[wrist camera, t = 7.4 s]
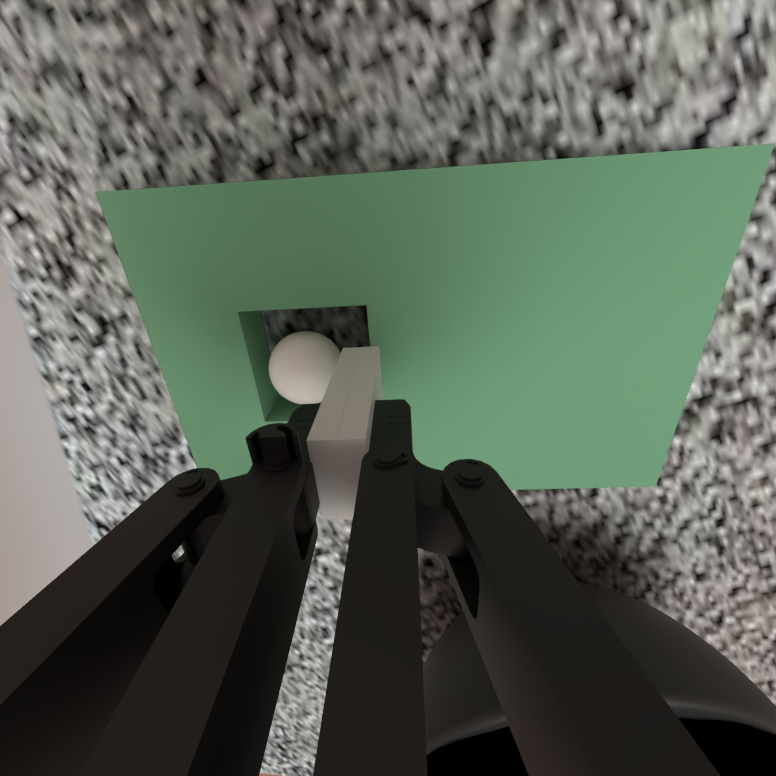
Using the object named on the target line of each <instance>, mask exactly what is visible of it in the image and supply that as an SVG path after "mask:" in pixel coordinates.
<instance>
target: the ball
mask: <svg viewBox="0 0 776 776" xmlns="http://www.w3.org/2000/svg"><path fill="white" fill-rule="evenodd" d="M340 354H341V353H340V351H339V349H338V348H337V346H336V345H335V344H334V343H333V342H332V341H331V340H330V339H329V338H327V337H326V336H324V335H322V334H320V333H316V332H312V331H300V332H295V333H292V334H290V335H288V336H286V337H285V338H283V339H282V340H281V341H280V342H279V343H278V344H277V345H276V346H275V348H274V349H273V351H272V353H271V356H270V359H269V376H270V379H271V382H272V384H273V386H274V387H275V389H276V390H277V391H278V392H279V393H280V394H281V395H282V396H283V397H284V398H286V399H287V400H289V401H291V402H294V403H297V404H315V403H320V402H322V400H323V397H324V395H325V392H326V390H327V387H328V384H329V382H330V379H331V377H332V374H333V372H334V369H335V367H336V364H337V362H338V359H339V356H340Z"/></svg>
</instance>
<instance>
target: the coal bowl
mask: <svg viewBox="0 0 776 776" xmlns="http://www.w3.org/2000/svg"><path fill="white" fill-rule="evenodd" d="M578 583H579V584H580V585H581V587H582V588H583V589H584V591H585V592H586V594H587V595H588V596H589V598H590V599H591V600H592V602H593V603H594V604H595V606H596V607H597V608H598V610H599V611H600V613H601V614H602V615H603V617H604V618H605V619H606V621H607V622H608V623H609V625H610V626H611V627H612V629H613V630H614V632H615V633H616V634H617V636H618V637H619V638H620V640H621V641H622V642H623V644H624V645H625V647H626V648H627V649H628V651H629V652H630V653H631V655H632V656H633V657H634V659H635V660H636V661H637V663H638V664H639V666H640V667H641V668H642V670H643V671H644V672H645V674H646V675H647V676H648V678H649V679H650V680H651V682H652V683H653V685H654V686H655V687H656V689H657V690H658V691H659V693H660V694H661V695H662V697H663V698H664V700H665V701H666V702H667V704H668V705H669V706H670V708H671V709H672V710H673V712H674V713H675V714H676V716H677V717H678V719H679V720H680V721H681V723H682V724H683V725H684V727H685V728H686V729H687V731H688V732H689V733H690V735H691V736H692V738H693V739H694V740H695V742H696V743H697V744H698V746H699V747H700V748H701V750H702V751H703V753H704V754H705V755H706V757H707V758H708V759H709V761H710V762H711V763H712V765H713V766H714V767H715V769H716V770H717V772H718V773H719V774H720V776H776V706H775V705H774V704H773V703H772V702H771V701H770V699H769V698H768V697H767V696H766V695H765V694H764V693H763V692H762V691H761V690H760V689H759V688H758V687H757V686H756V685H755V684H754V683H753V682H752V681H751V680H750V679H749V678H748V677H747V676H746V675H745V674H743V673H742V672H741V671H740V670H739V669H738V668H737V667H736V666H735V665H734V664H733V663H732V662H730V661H729V660H728V659H727V658H726V657H725V656H723V655H722V654H721V653H720V652H719V651H717V650H716V649H715V648H714V647H713V646H711V645H710V644H708V643H707V642H706V641H704V640H703V639H702V638H700V637H699V636H698V635H696V634H695V633H693V632H692V631H691V630H689V629H688V628H687V627H685V626H684V625H682V624H681V623H679V622H677V621H676V620H674V619H672V618H671V617H669V616H668V615H666V614H664V613H662V612H661V611H659V610H657V609H655V608H653V607H651V606H649V605H647V604H645V603H643V602H641V601H639V600H637V599H634V598H632V597H630V596H627V595H624V594H622V593H619V592H617V591H614V590H611V589H608V588H604V587H600V586H596V585H592V584H588V583H583V582H578ZM423 685H424V707H425V730H426V752H427V775H428V776H529V774H528V772H527V769H526V767H525V764H524V762H523V759H522V757H521V754H520V752H519V749H518V747H517V744H516V742H515V739H514V737H513V734H512V732H511V729H510V727H509V724H508V722H507V719H506V717H505V714H504V712H503V709H502V707H501V704H500V702H499V699H498V697H497V694H496V692H495V689H494V687H493V684H492V682H491V679H490V677H489V674H488V672H487V669H486V667H485V664H484V662H483V659H482V657H481V654H480V652H479V649H478V647H477V644H476V642H475V639H474V637H473V634H472V632H471V629H470V627H469V624H468V621H467V619H466V616H465V614H464V612H463V613H462V614H461V615H460V616H459V617H458V618H456V619H455V620H454V622H453V623H452V624H451V625H450V626H449V627H448V629H447V630H446V631H445V632H444V633H443V634H442V636H441V637H440V639H439V640H438V642H437V643H436V645H435V647H434V648H433V650H432V651H431V653H430V655H429V657H428V659H427V661H426V663H425V665H424V667H423Z"/></svg>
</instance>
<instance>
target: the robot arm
mask: <svg viewBox="0 0 776 776" xmlns="http://www.w3.org/2000/svg"><path fill="white" fill-rule="evenodd" d="M288 421H289V422H287V423H274V424H268V425H265V426H262V427H259V428H257V429H256V430H254V431H252V432H251V433H250V434H249V435H248V436H247V437H246V438H245V439H246V442H247V446H248V450H249V453H250V457H251V460H252V464H253V465H252V466H251V468H250V470H249V472H248V473H246V474H243V475H240V476H236V477H232V478H228V479H223V480H220V477H219V475H218V473H217V472H216V471H215V470H213V469H210V468H196V469H191V470H188V471H186V472H183V473H181V474H179V475H177V476H175V477H174V478H173V479H171V480H170V481H168V482H167V483H166V484H165V485H164V486H162V487H161V488H160V489H159V490H158V491H157V492H155V493H154V494H153V495H152V496H151V497H150V498H148V499H147V500H146V501H145V502H144V503H143V504H142V505H140V506H139V507H138V508H137V509H136V510H135V511H133V512H132V513H131V514H130V515H129V516H128V517H126V518H125V519H124V520H123V521H122V522H121V523H119V524H118V525H117V526H116V527H115V528H114V529H112V530H111V531H110V532H109V533H108V534H107V535H106V536H104V537H103V538H102V539H101V540H100V541H99V542H97V543H96V544H95V545H94V546H93V547H92V548H90V549H89V550H88V551H87V552H86V553H85V554H84V555H82V556H81V557H80V558H79V559H78V560H76V561H75V562H74V563H73V564H72V565H71V566H70V567H68V568H67V569H66V570H65V571H64V572H63V573H61V574H60V575H59V576H58V577H57V578H56V579H54V580H53V581H52V582H51V583H50V584H49V585H47V586H46V587H45V588H44V589H43V590H42V591H41V592H39V593H38V594H37V595H36V596H35V597H34V598H32V599H31V600H30V601H29V602H28V603H27V604H25V605H24V606H23V607H22V608H21V609H20V610H18V611H17V612H16V613H15V614H14V615H13V616H12V617H10V618H9V619H8V620H7V621H6V622H5V623H3V624H2V625H1V626H0V776H259V773H260V769H261V764H262V760H263V756H264V752H265V748H266V744H267V740H268V736H269V732H270V728H271V724H272V720H273V715H274V711H275V707H276V703H277V699H278V695H279V691H280V687H281V683H282V679H283V675H284V671H285V666H286V662H287V658H288V654H289V650H290V646H291V642H292V638H293V634H294V630H295V626H296V622H297V617H298V613H299V609H300V605H301V601H302V597H303V593H304V589H305V585H306V581H307V577H308V573H309V568H310V564H311V560H312V556H313V552H314V548H315V544H316V540H317V536H318V528H317V523H316V516H317V512H318V508H319V509H320V514H321V519H322V520H338V519H353V521H352V527H351V534H350V540H349V547H348V553H347V560H346V566H345V573H344V579H343V586H342V592H341V599H340V605H339V612H338V618H337V625H336V631H335V638H334V644H333V651H332V657H331V664H330V670H329V676H328V683H327V689H326V696H325V702H324V709H323V715H322V722H321V728H320V735H319V741H318V748H317V754H316V761H315V767H314V774H313V776H428V775H427V752H426V730H425V707H424V685H423V663H422V640H421V618H420V595H419V573H418V550H417V547H418V548H421V549H425V550H428V551H432V552H435V553H439V554H442V558H443V561H444V564H445V566H446V569H447V571H448V574H449V576H450V579H451V581H452V584H453V586H454V589H455V591H456V594H457V596H458V599H459V601H460V604H461V606H462V609H463V611H464V614H465V616H466V619H467V621H468V624H469V627H470V629H471V632H472V634H473V637H474V639H475V642H476V644H477V647H478V649H479V652H480V654H481V657H482V659H483V662H484V664H485V667H486V669H487V672H488V674H489V677H490V679H491V682H492V684H493V687H494V689H495V692H496V694H497V697H498V699H499V702H500V704H501V707H502V709H503V712H504V714H505V717H506V719H507V722H508V724H509V727H510V729H511V732H512V734H513V737H514V739H515V742H516V744H517V747H518V749H519V752H520V754H521V757H522V759H523V762H524V764H525V767H526V769H527V772H528V774H529V776H720V774H719V773H718V772H717V770H716V769H715V767H714V766H713V765H712V763H711V762H710V761H709V759H708V758H707V757H706V755H705V754H704V753H703V751H702V750H701V748H700V747H699V746H698V744H697V743H696V742H695V740H694V739H693V738H692V736H691V735H690V733H689V732H688V731H687V729H686V728H685V727H684V725H683V724H682V723H681V721H680V720H679V719H678V717H677V716H676V714H675V713H674V712H673V710H672V709H671V708H670V706H669V705H668V704H667V702H666V701H665V700H664V698H663V697H662V695H661V694H660V693H659V691H658V690H657V689H656V687H655V686H654V685H653V683H652V682H651V680H650V679H649V678H648V676H647V675H646V674H645V672H644V671H643V670H642V668H641V667H640V666H639V664H638V663H637V661H636V660H635V659H634V657H633V656H632V655H631V653H630V652H629V651H628V649H627V648H626V647H625V645H624V644H623V642H622V641H621V640H620V638H619V637H618V636H617V634H616V633H615V632H614V630H613V629H612V627H611V626H610V625H609V623H608V622H607V621H606V619H605V618H604V617H603V615H602V614H601V613H600V611H599V610H598V608H597V607H596V606H595V604H594V603H593V602H592V600H591V599H590V598H589V596H588V595H587V594H586V592H585V591H584V589H583V588H582V587H581V585H580V584H579V583H578V581H577V580H576V579H575V577H574V576H573V574H572V573H571V572H570V570H569V569H568V568H567V566H566V565H565V564H564V562H563V561H562V560H561V558H560V557H559V555H558V554H557V553H556V551H555V550H554V549H553V547H552V546H551V545H550V543H549V542H548V541H547V539H546V538H545V536H544V535H543V534H542V532H541V531H540V530H539V528H538V527H537V526H536V524H535V523H534V521H533V520H532V519H531V517H530V516H529V515H528V513H527V512H526V511H525V509H524V508H523V507H522V505H521V504H520V502H519V501H518V500H517V498H516V497H515V496H514V494H513V493H512V492H511V490H510V489H509V488H508V486H507V485H506V483H505V482H504V481H503V479H502V478H501V477H500V475H499V474H498V473H497V471H496V470H495V469H494V468H492V467H491V466H490V465H489V464H486V463H484V462H482V461H479V460H474V459H459V460H456V461H453V462H451V463H449V464H448V465H447V466H446V467H445V468H444V470H438V469H434V468H431V467H428V466H426V465H424V464H422V463H420V462H419V461H418V460H417V459H416V458H415V456H414V453H413V444H412V424H411V406H410V405H409V404H408V403H407V402H406V401H405V399H394V400H383V390H382V377H381V363H380V350H379V346H374V347H352V348H343V349H342V351H341V354H340V356H339V359H338V362H337V364H336V367H335V369H334V372H333V374H332V377H331V379H330V382H329V384H328V387H327V390H326V392H325V395H324V397H323V400H322V402H321V403H315V404H302V405H301V406H300V407H298V408H297V409H296V410H295V411H293V413H292V415H291V417H290V418H289V420H288ZM180 545H181V546H182V548H183V550H184V553H183V555H182V556H181V557H179V558H178V559H177V560H176V561H174V560H173V558H172V556H171V555H172V554H173V553H174V552H175V551H176V550H177V549H178V548H179V546H180Z"/></svg>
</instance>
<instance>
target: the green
mask: <svg viewBox="0 0 776 776" xmlns="http://www.w3.org/2000/svg"><path fill="white" fill-rule="evenodd" d="M773 147H774V144H763V145H749V146H735V147H721V148H707V149H693V150H679V151H665V152H651V153H637V154H623V155H609V156H595V157H581V158H567V159H553V160H539V161H525V162H511V163H497V164H483V165H469V166H455V167H441V168H427V169H413V170H399V171H385V172H371V173H357V174H343V175H329V176H315V177H301V178H287V179H273V180H259V181H245V182H231V183H217V184H203V185H189V186H175V187H161V188H147V189H133V190H119V191H105V192H96V195H97V198H98V201H99V203H100V206H101V209H102V211H103V214H104V217H105V220H106V222H107V225H108V228H109V230H110V233H111V236H112V238H113V241H114V244H115V247H116V249H117V252H118V255H119V257H120V260H121V263H122V266H123V268H124V271H125V274H126V276H127V279H128V282H129V284H130V287H131V290H132V293H133V295H134V298H135V301H136V303H137V306H138V309H139V312H140V314H141V317H142V320H143V322H144V325H145V328H146V331H147V333H148V336H149V339H150V341H151V344H152V347H153V349H154V352H155V355H156V358H157V360H158V363H159V366H160V368H161V371H162V374H163V377H164V379H165V382H166V385H167V387H168V390H169V393H170V396H171V398H172V401H173V404H174V406H175V409H176V412H177V414H178V417H179V420H180V423H181V425H182V428H183V431H184V433H185V436H186V439H187V442H188V444H189V447H190V450H191V452H192V455H193V458H194V460H195V463H196V466H197V468H210V469H213V470H215V471H216V472H217V473H218V475H219V477H220V480H223V479H228V478H232V477H236V476H240V475H243V474H246V473H248V472H249V470H250V468H251V466H252V465H253V464H252V460H251V457H250V453H249V450H248V446H247V442H246V439H245V438H246V437H247V436H248V435H249V434H250V433H251V432H252V431H254V430H256V429H257V428H259V427H262V426H265V425H268V424H274V423H287V422H289V421H288V420H289V418H290V417H291V415H292V413H293V411H295V410H296V409H297V408H298V407H300V406H301V405H302V404H297V403H294V402H291V401H289V400H287V399H286V398H284V397H283V398H280V396H279V392H278V391H277V390H276V389H275V387H274V386H273V384H272V382H271V379H270V376H269V359H270V356H271V355H270V351H269V346H268V341H267V337H266V332H265V328H264V323H263V319H262V314H261V311H263V310H282V309H301V308H321V307H340V306H359V305H367V316H368V328H369V339H370V347H374V346H379V350H380V363H381V377H382V390H383V400H394V399H405V401H406V402H407V403H408V404H409V405H410V406H411V424H412V444H413V453H414V456H415V458H416V459H417V460H418V461H419V462H420V463H422V464H424V465H426V466H428V467H431V468H434V469H438V470H444V468H445V467H446V466H447V465H448V464H449V463H451V462H453V461H456V460H459V459H474V460H479V461H482V462H484V463H486V464H489V465H490V466H491V467H492V468H494V469H495V470H496V471H497V473H498V474H499V475H500V477H501V478H502V479H503V481H504V482H505V483H506V485H507V486H508V488H509V489H510V490H523V489H565V488H607V487H648V486H656V484H657V481H658V478H659V475H660V472H661V469H662V467H663V464H664V461H665V458H666V455H667V452H668V449H669V446H670V444H671V441H672V438H673V435H674V432H675V429H676V426H677V423H678V421H679V418H680V415H681V412H682V409H683V406H684V403H685V400H686V397H687V395H688V392H689V389H690V386H691V383H692V380H693V377H694V374H695V372H696V369H697V366H698V363H699V360H700V357H701V354H702V351H703V349H704V346H705V343H706V340H707V337H708V334H709V331H710V328H711V326H712V323H713V320H714V317H715V314H716V311H717V308H718V305H719V302H720V300H721V297H722V294H723V291H724V288H725V285H726V282H727V279H728V277H729V274H730V271H731V268H732V265H733V262H734V259H735V256H736V254H737V251H738V248H739V245H740V242H741V239H742V236H743V233H744V230H745V228H746V225H747V222H748V219H749V216H750V213H751V210H752V207H753V205H754V202H755V199H756V196H757V193H758V190H759V187H760V184H761V182H762V179H763V176H764V173H765V170H766V167H767V164H768V161H769V159H770V156H771V153H772V150H773ZM320 403H321V402H320Z"/></svg>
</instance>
